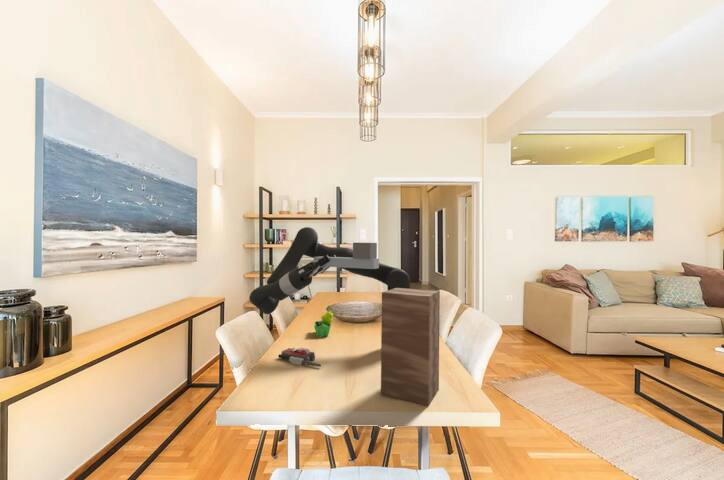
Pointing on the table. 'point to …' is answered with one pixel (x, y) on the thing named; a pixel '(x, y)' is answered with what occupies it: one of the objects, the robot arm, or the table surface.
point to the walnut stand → (410, 345)
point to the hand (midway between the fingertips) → (331, 257)
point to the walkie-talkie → (298, 356)
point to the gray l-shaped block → (357, 257)
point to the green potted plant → (324, 325)
